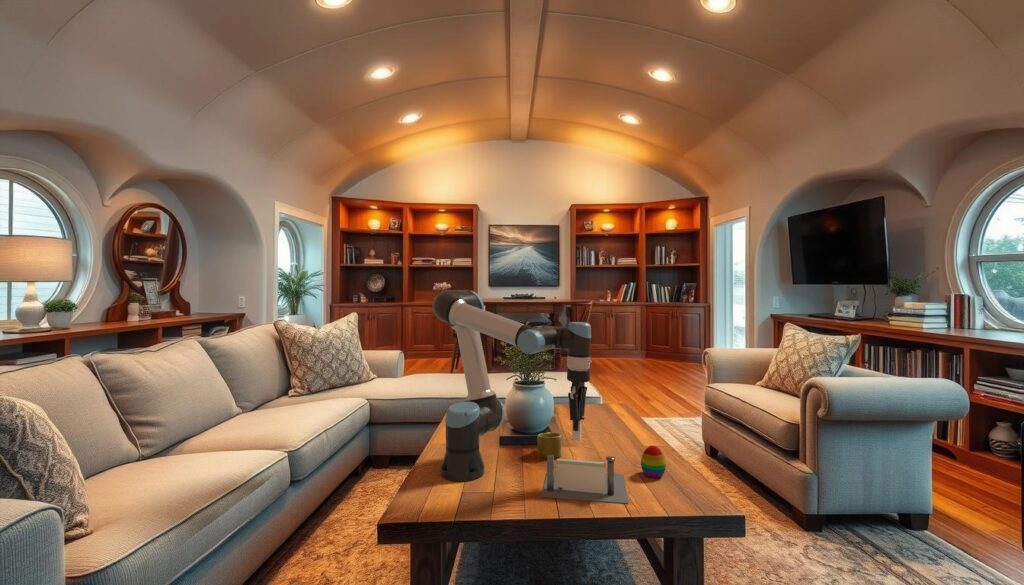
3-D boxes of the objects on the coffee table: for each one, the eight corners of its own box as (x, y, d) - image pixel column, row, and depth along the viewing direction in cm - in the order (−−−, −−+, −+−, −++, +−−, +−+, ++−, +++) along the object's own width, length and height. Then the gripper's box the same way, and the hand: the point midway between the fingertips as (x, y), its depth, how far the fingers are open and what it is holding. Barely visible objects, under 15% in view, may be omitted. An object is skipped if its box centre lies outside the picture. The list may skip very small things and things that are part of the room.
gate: (605, 492, 145) (605, 462, 145) (605, 494, 143) (605, 464, 143) (557, 487, 148) (557, 458, 148) (556, 489, 146) (556, 460, 146)
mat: (541, 497, 142) (541, 496, 142) (548, 469, 164) (548, 469, 164) (628, 503, 138) (628, 502, 138) (623, 475, 159) (623, 474, 159)
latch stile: (546, 492, 146) (547, 457, 145) (547, 488, 148) (547, 454, 148) (555, 493, 145) (555, 457, 145) (555, 489, 148) (556, 454, 148)
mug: (564, 457, 171) (557, 429, 174) (538, 463, 173) (531, 436, 176) (569, 452, 183) (562, 427, 185) (544, 458, 185) (537, 433, 187)
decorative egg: (668, 473, 161) (668, 444, 161) (662, 481, 154) (662, 451, 154) (644, 468, 165) (644, 440, 165) (638, 476, 158) (638, 447, 158)
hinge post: (606, 496, 142) (606, 459, 142) (605, 493, 145) (605, 456, 145) (615, 497, 142) (615, 459, 142) (615, 493, 145) (615, 456, 145)
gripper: (583, 373, 146) (581, 447, 147) (595, 367, 158) (593, 435, 158) (560, 370, 150) (559, 443, 150) (574, 364, 161) (572, 432, 162)
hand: (576, 439), depth 154 cm, fingers closed
